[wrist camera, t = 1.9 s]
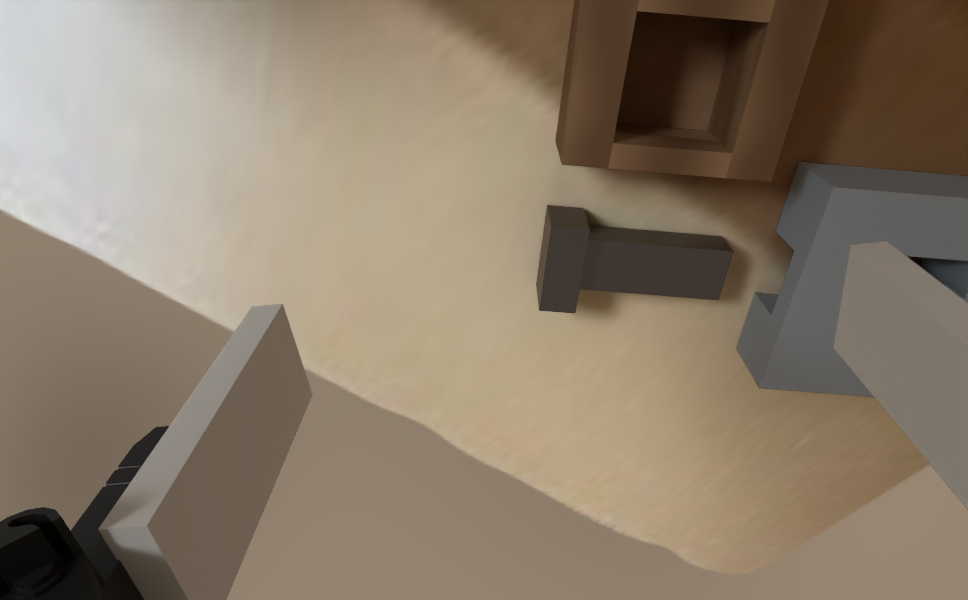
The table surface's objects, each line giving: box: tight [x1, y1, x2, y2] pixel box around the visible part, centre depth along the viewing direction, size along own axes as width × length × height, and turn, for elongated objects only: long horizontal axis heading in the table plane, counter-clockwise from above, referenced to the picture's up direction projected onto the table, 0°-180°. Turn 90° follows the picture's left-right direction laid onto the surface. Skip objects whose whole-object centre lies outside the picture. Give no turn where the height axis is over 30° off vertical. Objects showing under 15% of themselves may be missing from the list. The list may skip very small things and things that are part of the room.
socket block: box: [736, 162, 968, 397], centre depth 35 cm, size 12×12×4 cm
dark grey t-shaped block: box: [536, 205, 733, 313], centre depth 35 cm, size 10×5×3 cm, turn 86°
